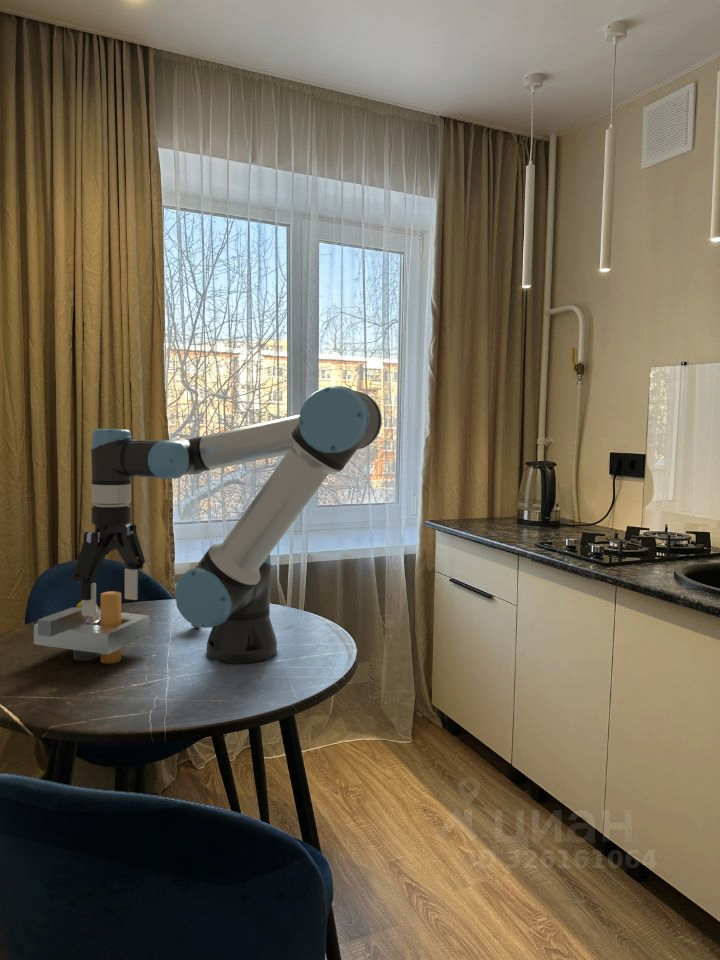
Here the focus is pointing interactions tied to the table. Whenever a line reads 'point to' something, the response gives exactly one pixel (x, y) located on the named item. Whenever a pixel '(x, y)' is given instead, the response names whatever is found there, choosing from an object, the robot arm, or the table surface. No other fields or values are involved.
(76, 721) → the table surface
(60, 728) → the table surface
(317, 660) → the table surface
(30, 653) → the table surface
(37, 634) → the gray rectangular tray
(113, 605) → the pin
